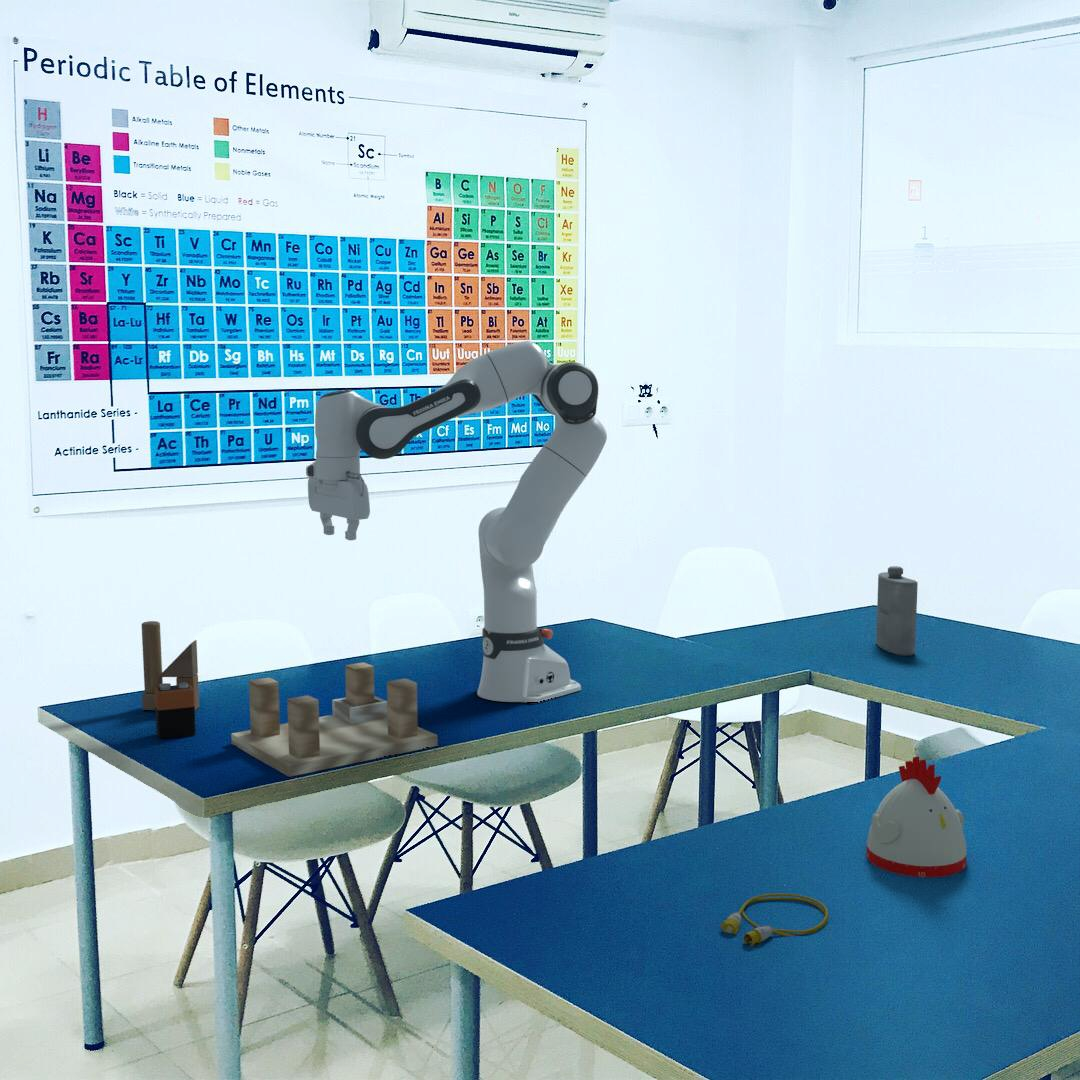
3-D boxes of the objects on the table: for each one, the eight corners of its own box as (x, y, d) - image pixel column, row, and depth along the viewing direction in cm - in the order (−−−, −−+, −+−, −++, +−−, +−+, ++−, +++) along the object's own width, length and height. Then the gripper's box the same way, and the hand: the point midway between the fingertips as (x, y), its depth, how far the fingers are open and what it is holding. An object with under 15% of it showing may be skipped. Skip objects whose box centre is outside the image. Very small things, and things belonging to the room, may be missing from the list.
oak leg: (364, 712, 266) (363, 662, 264) (374, 716, 262) (373, 666, 261) (346, 715, 263) (345, 665, 262) (356, 720, 260) (355, 669, 259)
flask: (869, 642, 334) (872, 562, 331) (892, 641, 335) (894, 561, 332) (895, 656, 319) (898, 572, 316) (918, 655, 320) (921, 572, 317)
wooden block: (194, 712, 274) (190, 624, 271) (142, 711, 274) (137, 624, 271) (199, 707, 277) (196, 621, 275) (148, 706, 278) (144, 620, 275)
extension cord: (696, 913, 178) (696, 898, 177) (801, 896, 183) (801, 881, 183) (741, 952, 166) (741, 936, 166) (851, 932, 172) (851, 917, 172)
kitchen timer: (907, 884, 186) (911, 778, 184) (846, 849, 199) (849, 751, 196) (987, 868, 192) (991, 765, 189) (923, 835, 204) (927, 739, 202)
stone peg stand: (373, 717, 269) (372, 658, 267) (437, 745, 250) (436, 682, 248) (231, 743, 252) (229, 680, 250) (288, 776, 233) (286, 708, 231)
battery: (156, 733, 258) (153, 682, 257) (192, 729, 261) (190, 679, 260) (159, 740, 254) (157, 688, 253) (196, 735, 257) (194, 684, 256)
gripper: (376, 473, 270) (378, 541, 272) (329, 465, 286) (330, 530, 288) (348, 474, 266) (350, 544, 268) (301, 467, 282) (303, 533, 284)
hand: (339, 537), depth 278 cm, fingers open, 8 cm apart
